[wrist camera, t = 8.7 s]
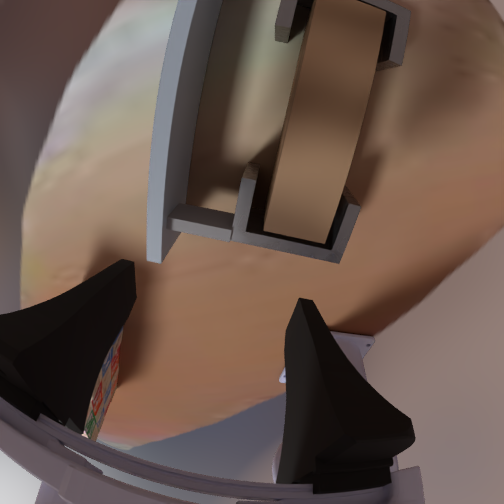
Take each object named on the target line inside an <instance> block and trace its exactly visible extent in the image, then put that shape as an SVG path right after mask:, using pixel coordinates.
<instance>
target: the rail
mask: <svg viewBox="0 0 504 504" xmlns="http://www.w3.org/2000/svg"><path fill="white" fill-rule="evenodd" d="M385 16H386V12H385V11H383V10H381V9H378V8H376V7H373V6H371V5H368V4H365V3H363V2H360V1H357V0H314V2H313V4H312V7H311V9H310V12H309V14H308V19H307V23H306V27H305V32H304V36H303V41H302V45H301V50H300V54H299V59H298V63H297V67H296V72H295V76H294V81H293V85H292V90H291V94H290V98H289V103H288V107H287V112H286V116H285V120H284V125H283V129H282V134H281V138H280V142H279V147H278V151H277V155H276V160H275V164H274V169H273V173H272V177H271V182H270V186H269V190H268V195H267V199H266V208H265V219H264V230H263V231H268V232H272V233H277V234H282V235H286V236H291V237H296V238H300V239H305V240H309V241H314V242H318V243H323V244H325V242H326V239H327V236H328V233H329V230H330V227H331V224H332V222H333V219H334V216H335V213H336V210H337V207H338V204H339V201H340V198H341V194H342V191H343V188H344V185H345V182H346V179H347V175H348V172H349V169H350V165H351V162H352V159H353V155H354V152H355V148H356V145H357V141H358V138H359V134H360V130H361V127H362V123H363V119H364V115H365V111H366V107H367V103H368V99H369V95H370V91H371V87H372V82H373V78H374V74H375V69H376V64H377V59H378V55H379V50H380V44H381V39H382V34H383V28H384V22H385Z"/></svg>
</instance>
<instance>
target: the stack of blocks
mask: <svg viewBox="0 0 504 504" xmlns="http://www.w3.org/2000/svg"><path fill="white" fill-rule="evenodd" d="M122 335H123V327H122V329H121V331H120V332H119V334H118V336H117V338H116V339H115V341H114V343H113V345H112V347H111V348H110V350H109V352H108V354H107V356H106V358H105V360H104V363H103V365H102V368H101V371H100V373H99V376H98V379H97V382H96V385H95V388H94V391H93V394H92V398H91V401H90V405H89V409H88V413H87V418H86V423H85V428H84V434H82V436H84V437H87V438H89V439H91V440H93V441H95V442H96V440H97V437H98V434H99V431H100V429H101V426H102V424H103V421H104V417H105V414H106V412H107V409H108V407H109V404H110V402H111V401H112V398H113V396H114V393H115V390H116V386H117V381H118V372H119V355H120V354H119V351H120V344H121V341H122Z"/></svg>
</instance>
